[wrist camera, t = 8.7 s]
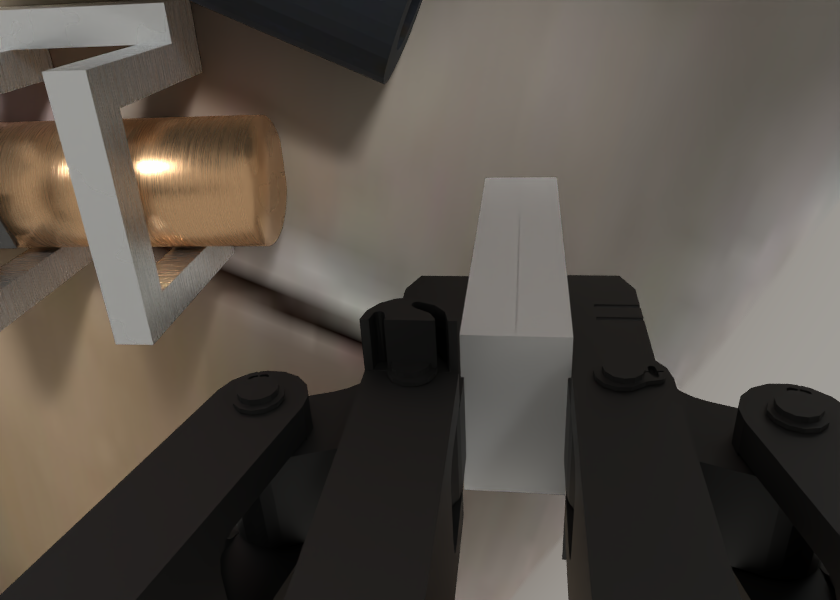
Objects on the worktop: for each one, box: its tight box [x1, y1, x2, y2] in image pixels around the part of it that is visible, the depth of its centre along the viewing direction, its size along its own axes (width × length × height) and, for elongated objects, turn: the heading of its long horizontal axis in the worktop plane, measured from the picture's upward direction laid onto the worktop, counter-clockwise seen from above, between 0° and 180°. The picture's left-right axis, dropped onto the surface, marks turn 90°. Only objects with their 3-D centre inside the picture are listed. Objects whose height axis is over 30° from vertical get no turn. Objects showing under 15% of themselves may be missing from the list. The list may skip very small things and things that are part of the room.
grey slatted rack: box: [0, 0, 234, 345], centre depth 24 cm, size 11×9×7 cm
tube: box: [0, 115, 287, 248], centre depth 25 cm, size 12×4×4 cm, turn 93°
